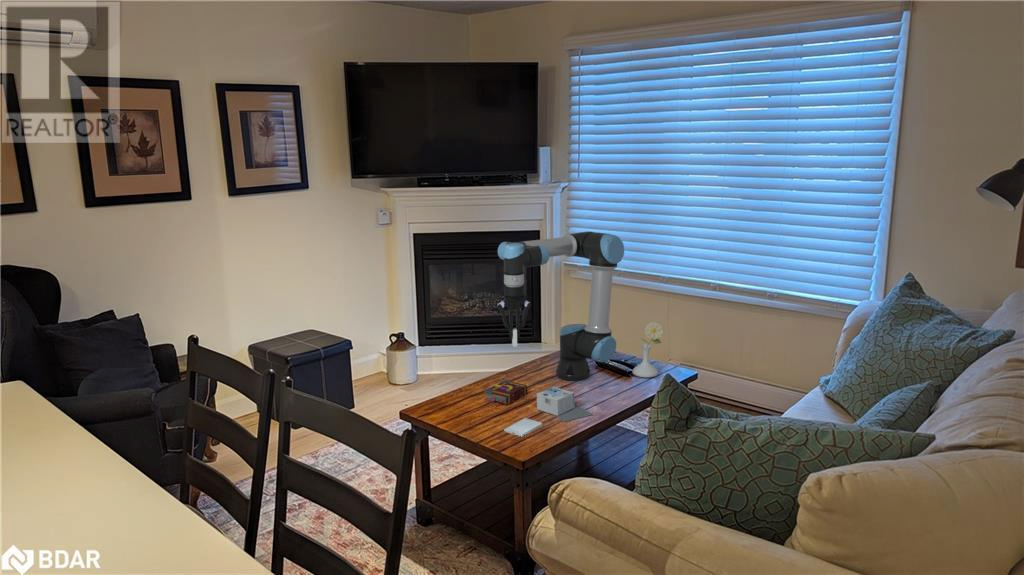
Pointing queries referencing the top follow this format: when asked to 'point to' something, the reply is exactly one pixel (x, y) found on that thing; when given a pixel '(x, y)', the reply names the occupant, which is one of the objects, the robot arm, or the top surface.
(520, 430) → the hard drive
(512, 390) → the decorative book
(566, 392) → the light bulb box
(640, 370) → the flower in vase
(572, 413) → the felt mat
